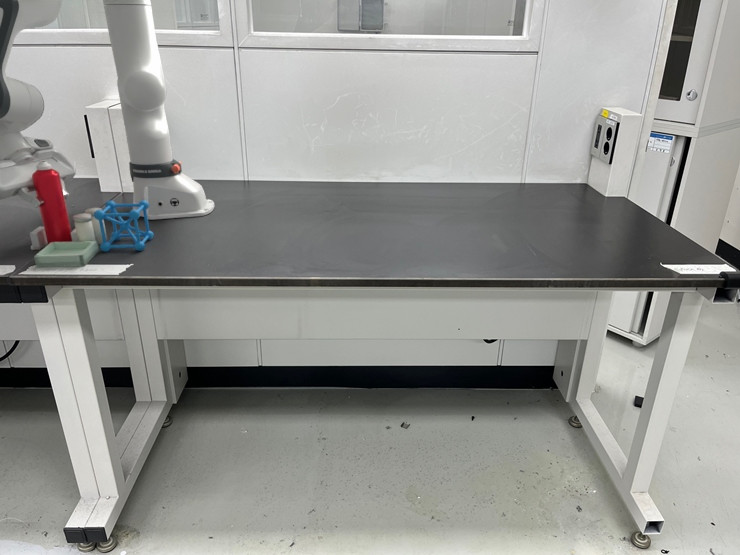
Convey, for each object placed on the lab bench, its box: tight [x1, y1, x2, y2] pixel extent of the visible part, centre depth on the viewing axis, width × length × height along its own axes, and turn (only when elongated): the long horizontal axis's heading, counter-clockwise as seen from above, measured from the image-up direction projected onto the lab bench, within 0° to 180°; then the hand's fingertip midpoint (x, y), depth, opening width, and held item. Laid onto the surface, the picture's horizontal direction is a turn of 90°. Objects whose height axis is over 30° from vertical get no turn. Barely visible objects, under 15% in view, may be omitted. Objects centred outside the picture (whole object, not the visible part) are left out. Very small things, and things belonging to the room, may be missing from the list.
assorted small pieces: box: [29, 207, 108, 268], centre depth 128 cm, size 16×20×8 cm
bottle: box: [32, 161, 73, 245], centre depth 128 cm, size 5×5×20 cm
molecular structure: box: [94, 200, 154, 252], centre depth 131 cm, size 10×10×10 cm
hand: (53, 201), depth 128 cm, fingers closed on bottle, 5 cm apart
